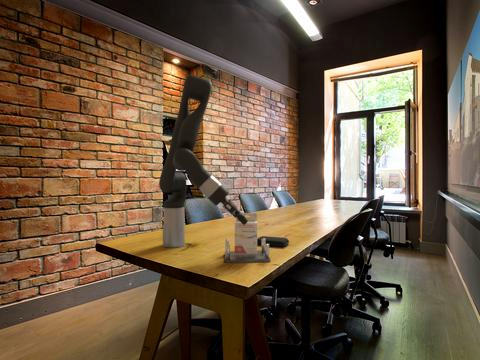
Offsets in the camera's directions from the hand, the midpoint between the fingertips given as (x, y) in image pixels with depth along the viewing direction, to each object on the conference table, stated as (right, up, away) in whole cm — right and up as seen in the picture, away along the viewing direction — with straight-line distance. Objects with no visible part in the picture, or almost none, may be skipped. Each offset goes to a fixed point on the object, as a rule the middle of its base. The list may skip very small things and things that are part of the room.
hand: (245, 221), depth 107 cm
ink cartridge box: (0, -12, 0) cm, 12 cm away
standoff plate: (0, -14, 0) cm, 14 cm away
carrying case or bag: (+13, -14, +22) cm, 29 cm away
